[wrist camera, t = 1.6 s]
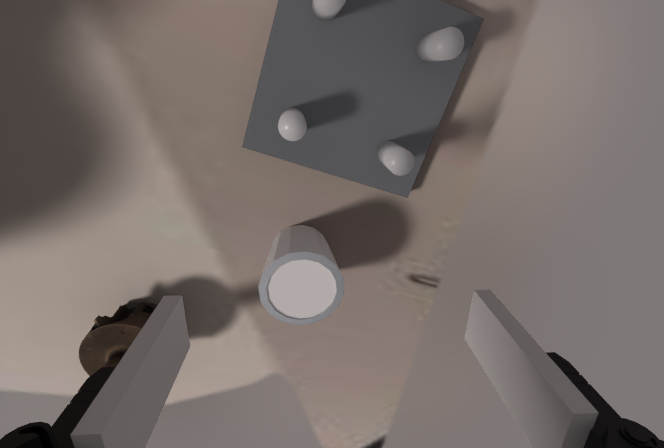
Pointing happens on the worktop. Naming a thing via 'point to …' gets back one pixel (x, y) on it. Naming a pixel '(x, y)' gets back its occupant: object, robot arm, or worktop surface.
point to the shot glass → (300, 277)
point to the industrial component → (112, 337)
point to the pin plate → (359, 85)
